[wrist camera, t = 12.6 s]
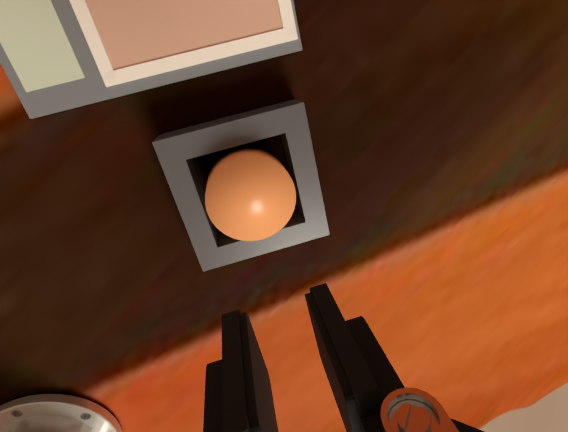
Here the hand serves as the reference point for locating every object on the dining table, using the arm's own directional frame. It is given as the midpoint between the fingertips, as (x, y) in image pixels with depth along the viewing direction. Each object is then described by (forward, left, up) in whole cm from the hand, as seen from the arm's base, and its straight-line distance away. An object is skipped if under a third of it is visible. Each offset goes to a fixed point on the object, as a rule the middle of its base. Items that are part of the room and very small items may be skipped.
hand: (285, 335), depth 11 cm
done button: (0, 0, -15) cm, 15 cm away
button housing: (0, 0, -17) cm, 17 cm away
